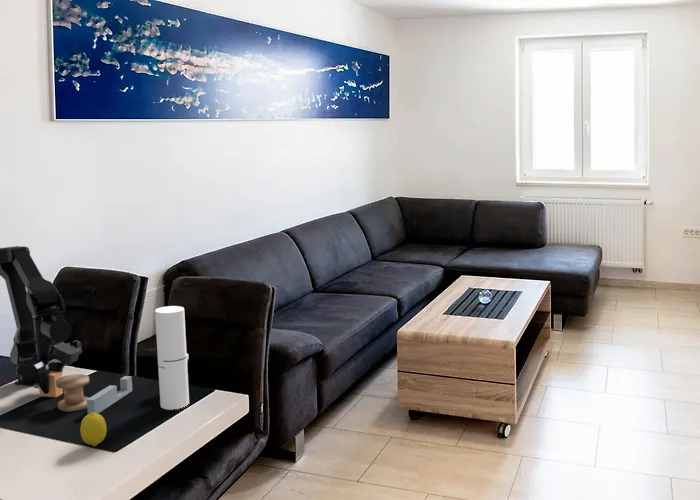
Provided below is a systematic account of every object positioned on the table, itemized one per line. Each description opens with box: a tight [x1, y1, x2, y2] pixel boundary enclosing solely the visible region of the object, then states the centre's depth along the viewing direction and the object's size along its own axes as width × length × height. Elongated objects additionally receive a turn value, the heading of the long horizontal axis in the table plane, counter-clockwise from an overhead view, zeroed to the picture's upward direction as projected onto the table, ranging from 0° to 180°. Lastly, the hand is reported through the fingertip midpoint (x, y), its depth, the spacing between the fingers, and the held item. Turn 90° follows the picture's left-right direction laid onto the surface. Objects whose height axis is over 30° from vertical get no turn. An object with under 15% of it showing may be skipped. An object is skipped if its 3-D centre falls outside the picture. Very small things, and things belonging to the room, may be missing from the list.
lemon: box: [79, 412, 108, 447], centre depth 166 cm, size 6×6×8 cm
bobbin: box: [56, 373, 90, 412], centre depth 191 cm, size 8×8×7 cm
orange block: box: [33, 371, 64, 398], centre depth 199 cm, size 7×3×6 cm, turn 76°
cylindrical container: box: [154, 305, 190, 411], centre depth 189 cm, size 7×7×25 cm
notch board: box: [86, 375, 133, 415], centre depth 193 cm, size 2×18×4 cm, turn 166°
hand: (51, 390), depth 199 cm, fingers open, 4 cm apart
